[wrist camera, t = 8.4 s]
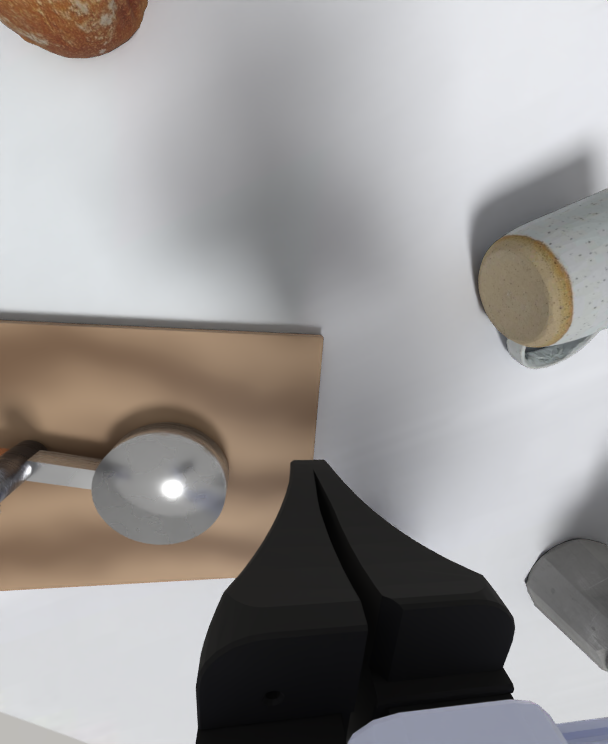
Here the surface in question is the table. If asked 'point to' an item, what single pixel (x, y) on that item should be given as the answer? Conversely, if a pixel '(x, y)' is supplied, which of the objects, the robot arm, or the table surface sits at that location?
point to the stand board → (139, 408)
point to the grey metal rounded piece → (136, 480)
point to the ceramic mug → (550, 282)
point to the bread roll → (74, 24)
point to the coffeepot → (575, 594)
